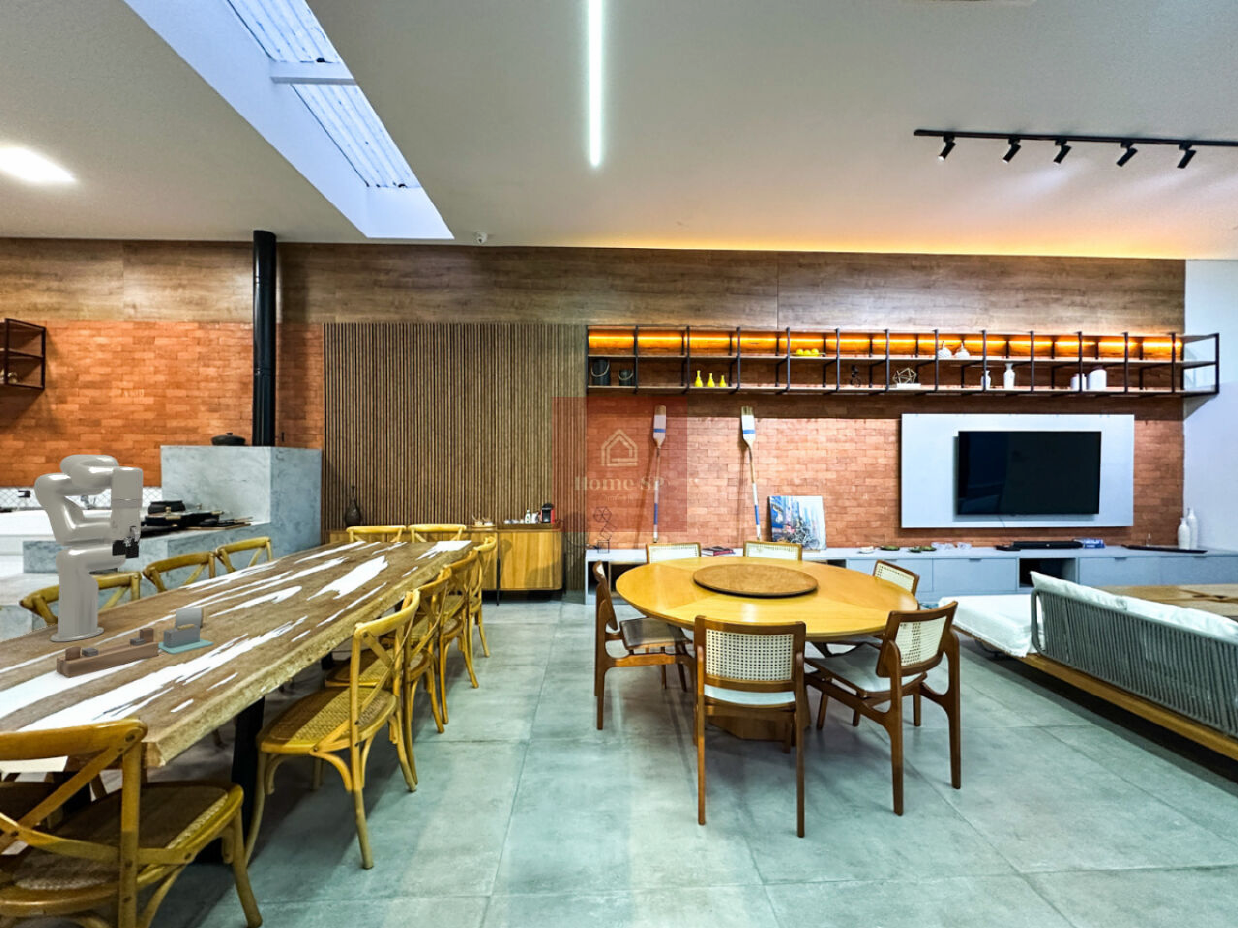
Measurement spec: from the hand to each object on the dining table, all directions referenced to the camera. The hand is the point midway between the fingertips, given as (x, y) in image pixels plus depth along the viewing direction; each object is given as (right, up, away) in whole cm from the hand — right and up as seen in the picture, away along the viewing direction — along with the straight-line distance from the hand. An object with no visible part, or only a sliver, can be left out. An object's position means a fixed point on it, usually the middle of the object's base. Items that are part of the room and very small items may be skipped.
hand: (125, 556), depth 166 cm
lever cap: (+15, -30, +4) cm, 34 cm away
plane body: (+7, -30, -12) cm, 33 cm away
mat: (+15, -31, +4) cm, 34 cm away
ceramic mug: (+1, -31, +23) cm, 38 cm away
